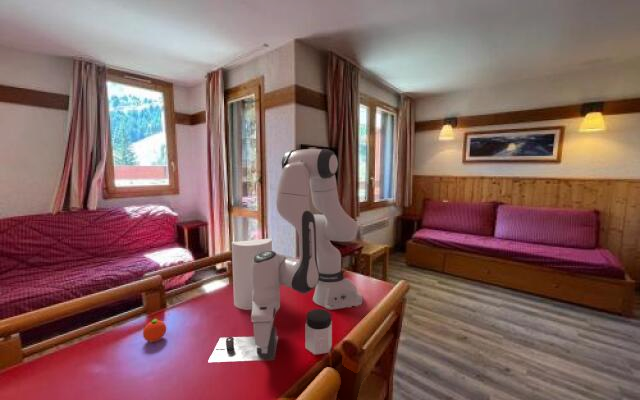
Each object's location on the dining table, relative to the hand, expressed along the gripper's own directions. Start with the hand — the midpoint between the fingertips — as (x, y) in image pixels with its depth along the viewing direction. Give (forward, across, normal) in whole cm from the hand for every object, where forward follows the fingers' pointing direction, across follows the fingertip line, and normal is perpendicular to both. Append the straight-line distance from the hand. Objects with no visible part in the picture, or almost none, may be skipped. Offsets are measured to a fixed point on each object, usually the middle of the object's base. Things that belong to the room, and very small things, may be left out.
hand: (267, 342), depth 89 cm
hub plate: (+3, 0, -7) cm, 8 cm away
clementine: (+3, -8, -40) cm, 41 cm away
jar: (+3, 0, +17) cm, 17 cm away
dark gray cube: (+2, 0, 0) cm, 2 cm away
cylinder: (+3, -35, -11) cm, 37 cm away
